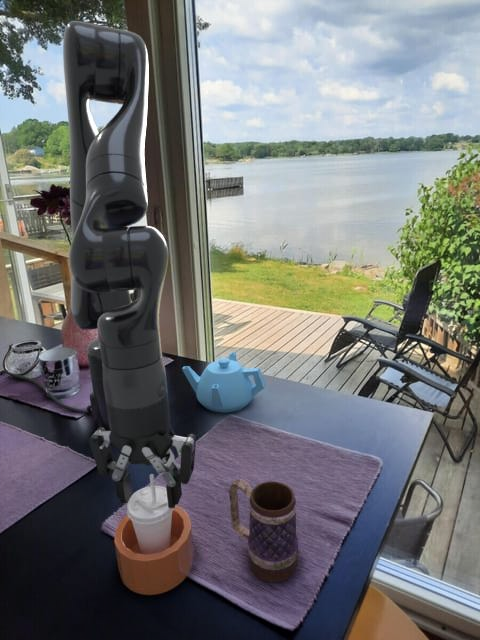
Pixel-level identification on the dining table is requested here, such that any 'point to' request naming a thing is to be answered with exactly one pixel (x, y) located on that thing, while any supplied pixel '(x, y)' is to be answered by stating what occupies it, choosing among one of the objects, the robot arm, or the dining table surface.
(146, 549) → the smoothie
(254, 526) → the mug
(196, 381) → the teapot
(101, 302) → the robot arm
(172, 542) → the bottle stand
